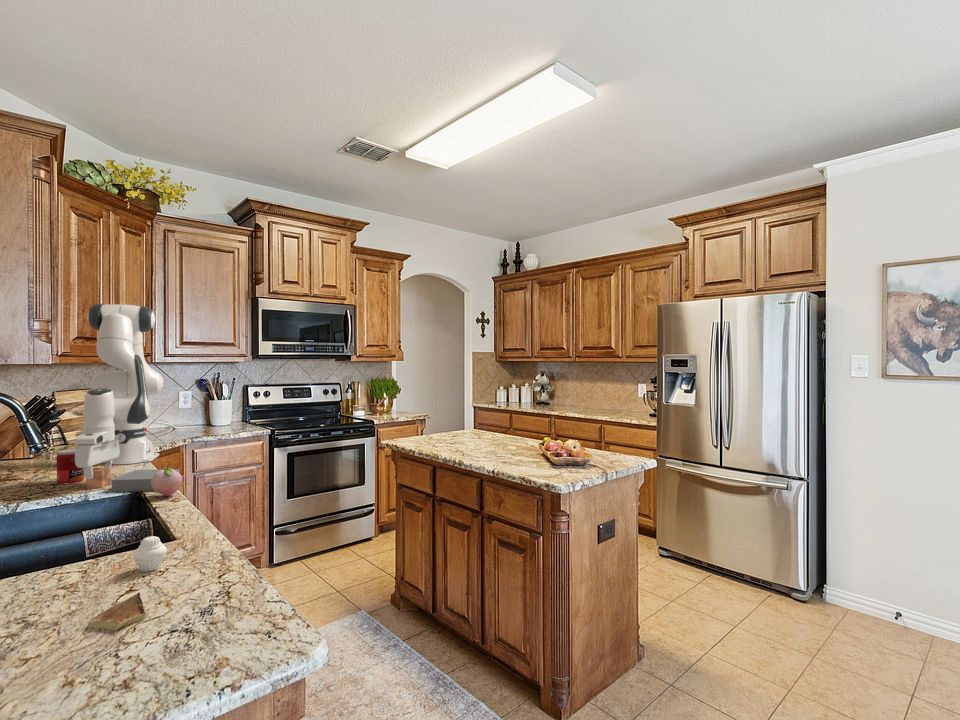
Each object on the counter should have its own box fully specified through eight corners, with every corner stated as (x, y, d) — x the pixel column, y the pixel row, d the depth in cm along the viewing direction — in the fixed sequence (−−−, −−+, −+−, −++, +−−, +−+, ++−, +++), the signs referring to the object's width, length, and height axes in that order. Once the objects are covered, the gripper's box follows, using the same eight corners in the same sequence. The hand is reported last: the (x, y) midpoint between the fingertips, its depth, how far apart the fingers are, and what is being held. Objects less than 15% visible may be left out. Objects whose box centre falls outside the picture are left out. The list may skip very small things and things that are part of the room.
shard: (139, 599, 97) (139, 590, 97) (174, 603, 95) (174, 594, 95) (85, 630, 86) (85, 619, 86) (124, 634, 85) (124, 624, 85)
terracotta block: (94, 485, 180) (94, 468, 180) (110, 484, 181) (110, 467, 181) (86, 488, 175) (86, 471, 175) (102, 488, 176) (102, 470, 176)
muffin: (125, 573, 107) (125, 540, 107) (148, 562, 113) (148, 530, 113) (152, 575, 106) (152, 542, 106) (173, 564, 112) (174, 532, 112)
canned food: (72, 484, 181) (72, 453, 181) (50, 483, 181) (50, 452, 181) (89, 479, 189) (89, 449, 189) (68, 478, 189) (68, 448, 189)
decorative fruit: (147, 496, 166) (148, 465, 166) (176, 491, 172) (176, 462, 172) (155, 502, 160) (155, 470, 160) (184, 497, 165) (185, 466, 165)
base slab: (134, 481, 186) (134, 470, 186) (179, 480, 188) (179, 469, 188) (111, 491, 171) (111, 479, 171) (160, 490, 173) (160, 478, 173)
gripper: (106, 432, 188) (105, 469, 188) (70, 440, 168) (70, 482, 167) (124, 431, 189) (124, 469, 189) (91, 439, 169) (91, 481, 168)
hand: (98, 475), depth 178 cm, fingers open, 8 cm apart
